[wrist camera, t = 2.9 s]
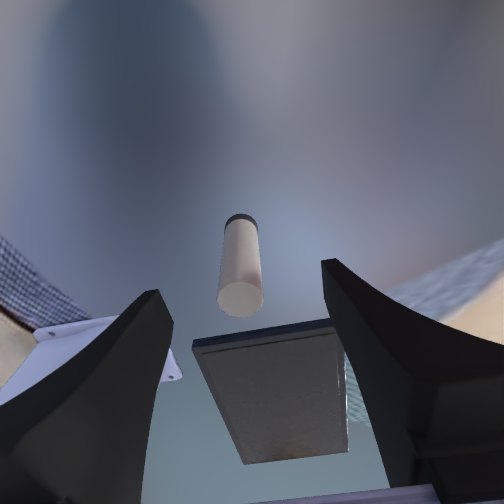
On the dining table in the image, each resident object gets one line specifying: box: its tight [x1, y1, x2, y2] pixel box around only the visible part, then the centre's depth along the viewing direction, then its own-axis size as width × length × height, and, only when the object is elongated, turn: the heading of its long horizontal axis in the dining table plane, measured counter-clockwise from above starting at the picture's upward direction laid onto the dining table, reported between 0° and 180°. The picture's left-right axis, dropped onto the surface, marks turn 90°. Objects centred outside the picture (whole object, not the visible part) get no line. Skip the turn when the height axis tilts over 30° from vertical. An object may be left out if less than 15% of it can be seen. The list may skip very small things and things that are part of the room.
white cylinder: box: [217, 214, 264, 317], centre depth 15 cm, size 2×2×7 cm
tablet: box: [192, 318, 349, 465], centre depth 27 cm, size 12×20×1 cm, turn 11°
